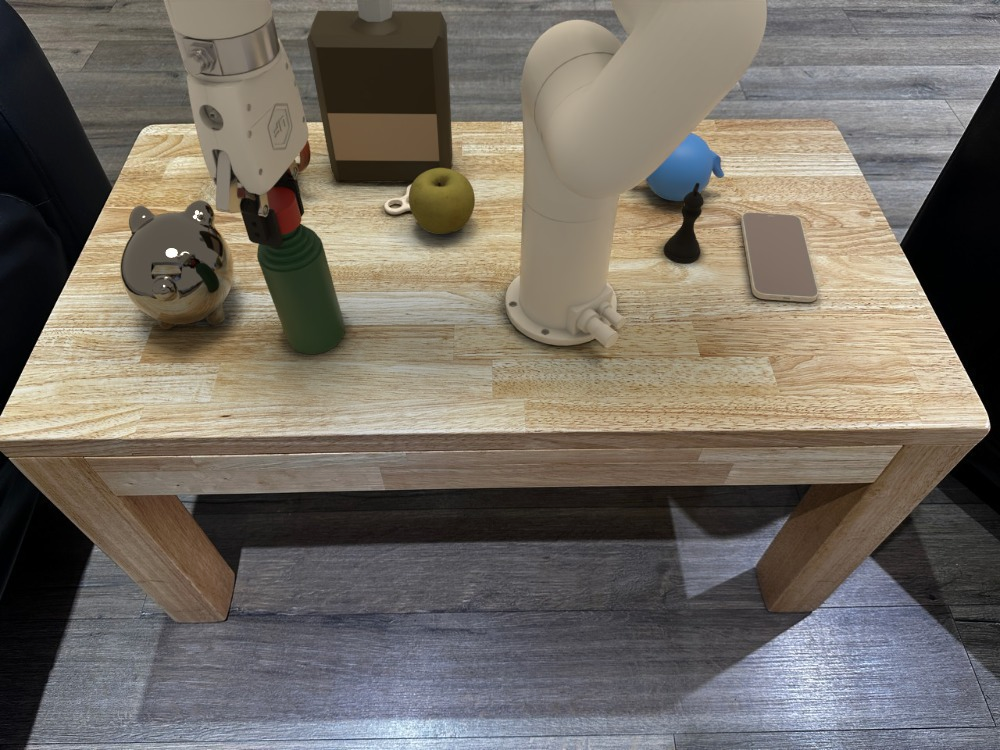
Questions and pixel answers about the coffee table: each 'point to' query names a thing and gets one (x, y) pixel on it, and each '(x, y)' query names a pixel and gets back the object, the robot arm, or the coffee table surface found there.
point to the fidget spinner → (400, 201)
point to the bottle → (382, 91)
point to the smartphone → (778, 257)
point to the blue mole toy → (685, 170)
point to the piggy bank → (177, 265)
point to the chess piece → (686, 231)
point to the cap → (284, 208)
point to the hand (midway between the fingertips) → (277, 226)
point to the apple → (441, 200)
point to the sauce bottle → (303, 291)
